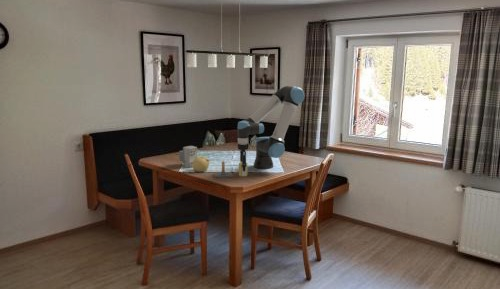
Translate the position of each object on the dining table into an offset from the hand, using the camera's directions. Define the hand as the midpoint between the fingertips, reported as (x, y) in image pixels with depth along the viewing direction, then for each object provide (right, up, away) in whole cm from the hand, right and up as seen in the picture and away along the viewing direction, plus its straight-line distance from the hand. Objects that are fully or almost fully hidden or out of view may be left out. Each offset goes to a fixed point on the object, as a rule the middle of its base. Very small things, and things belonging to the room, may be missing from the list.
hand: (243, 172), depth 273 cm
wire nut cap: (0, -2, 0) cm, 2 cm away
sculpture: (-31, 0, +11) cm, 33 cm away
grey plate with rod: (-14, -2, -1) cm, 14 cm away
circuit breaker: (-43, +4, +25) cm, 50 cm away
